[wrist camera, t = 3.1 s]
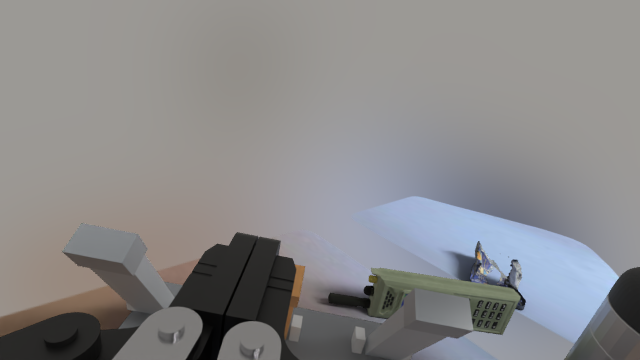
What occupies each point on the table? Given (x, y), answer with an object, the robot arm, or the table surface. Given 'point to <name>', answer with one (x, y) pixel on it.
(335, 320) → the pegged base beam
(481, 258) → the snack package
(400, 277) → the handheld radio
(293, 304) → the orange paddle
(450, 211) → the table surface
